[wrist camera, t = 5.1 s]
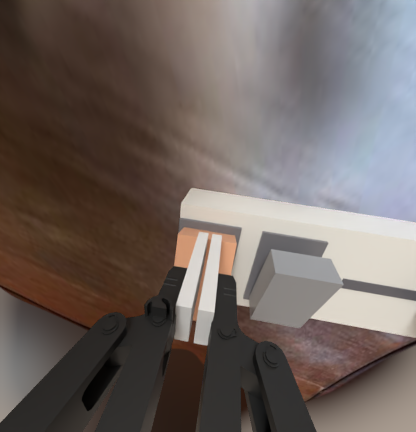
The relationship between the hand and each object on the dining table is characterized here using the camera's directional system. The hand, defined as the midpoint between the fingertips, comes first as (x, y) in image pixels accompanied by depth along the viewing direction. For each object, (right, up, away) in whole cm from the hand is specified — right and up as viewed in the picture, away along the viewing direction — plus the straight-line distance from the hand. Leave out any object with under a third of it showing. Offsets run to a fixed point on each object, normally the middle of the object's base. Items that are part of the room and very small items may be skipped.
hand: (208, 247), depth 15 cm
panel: (+12, -2, +9) cm, 15 cm away
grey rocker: (+7, -4, +3) cm, 9 cm away
